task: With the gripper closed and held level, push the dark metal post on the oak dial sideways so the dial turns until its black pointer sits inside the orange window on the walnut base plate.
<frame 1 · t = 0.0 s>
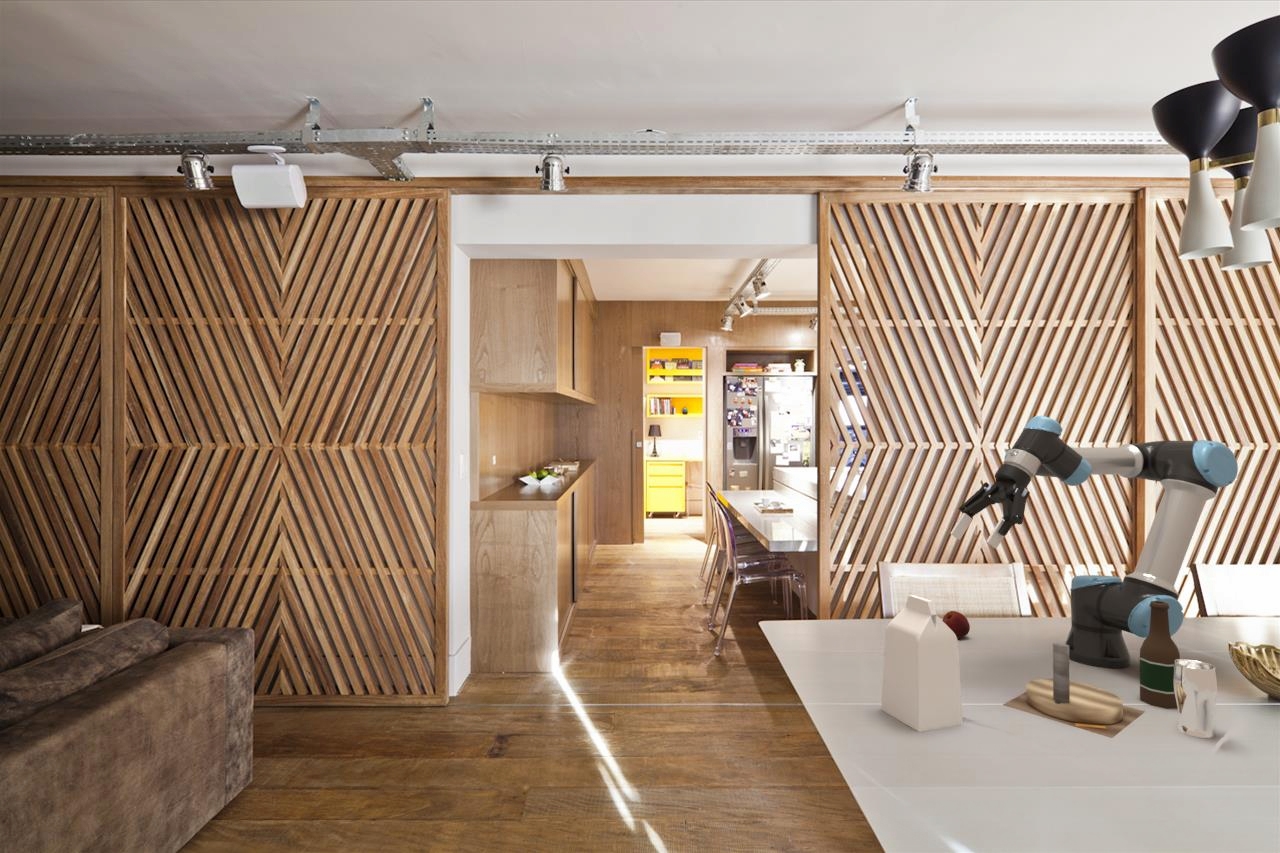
hand: (972, 541, 164), 36 cm above the table, tool tilted 35°, fingers open, 13 cm apart
dial base: (1073, 713, 148), on the table
beer glass: (1195, 738, 137), on the table
milk: (920, 717, 146), on the table
beer bottle: (1160, 708, 152), on the table
cam dial: (1072, 673, 148), point 9 cm above the table, hinge at 0.0°
apple: (955, 638, 205), on the table
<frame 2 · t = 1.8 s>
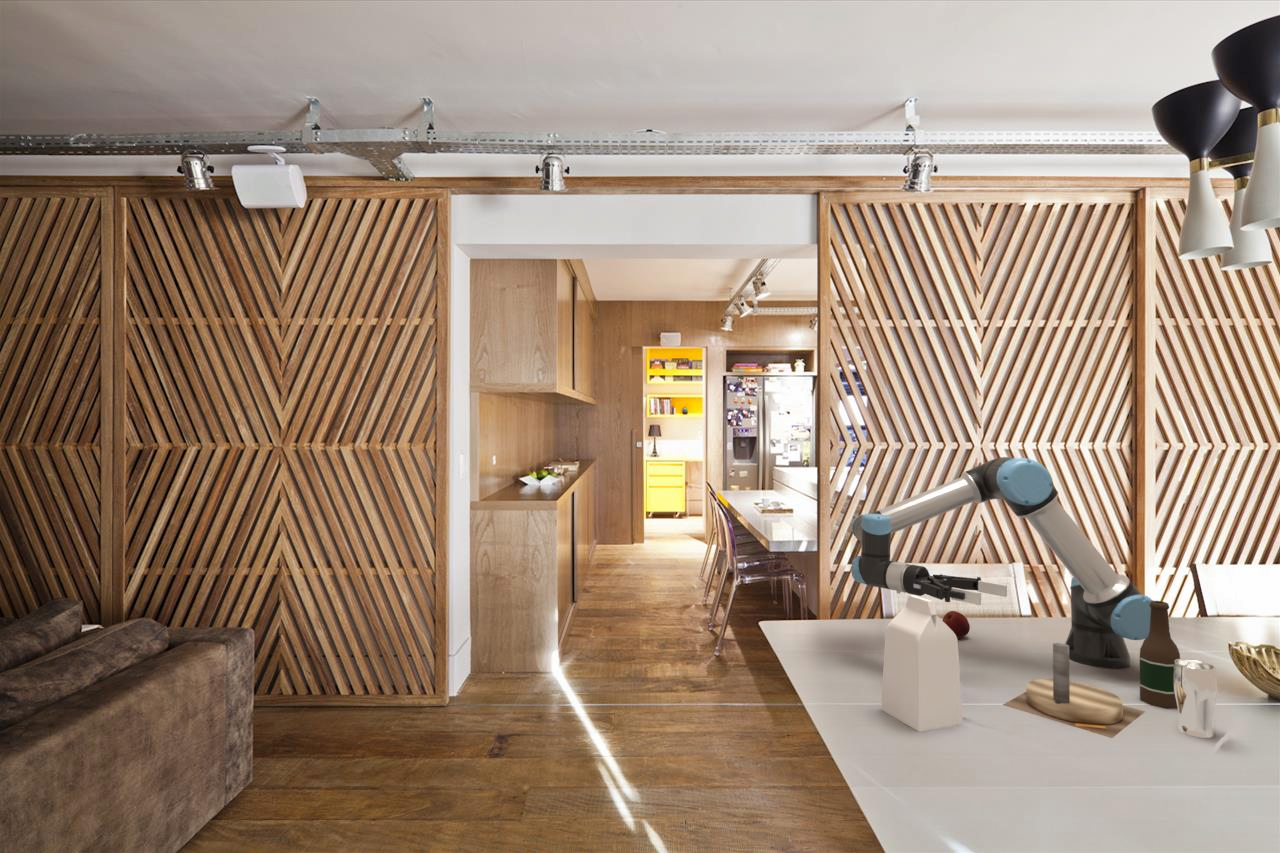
hand: (993, 595, 156), 24 cm above the table, tool horizontal, fingers open, 13 cm apart
nothing on the table moved.
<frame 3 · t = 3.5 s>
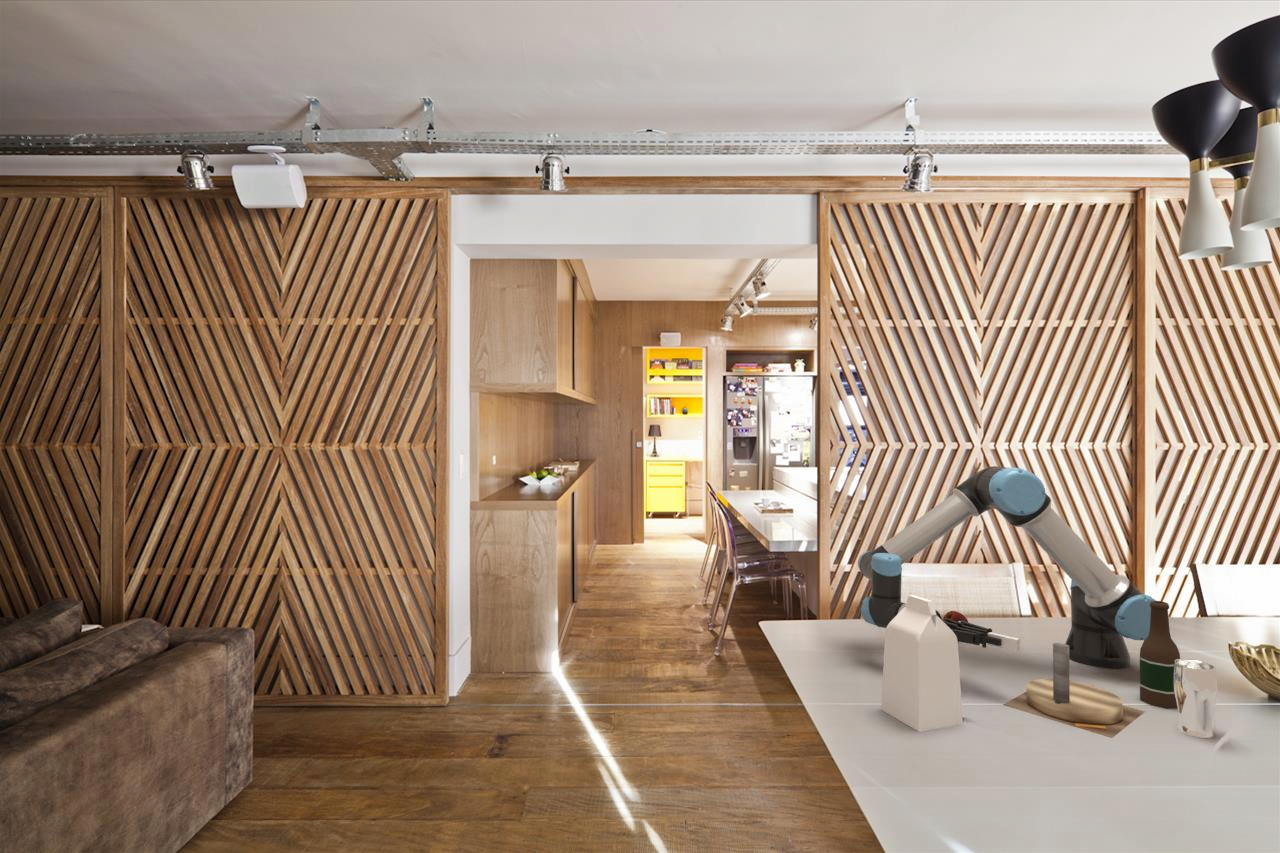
hand: (1018, 645, 151), 14 cm above the table, tool horizontal, fingers closed
nothing on the table moved.
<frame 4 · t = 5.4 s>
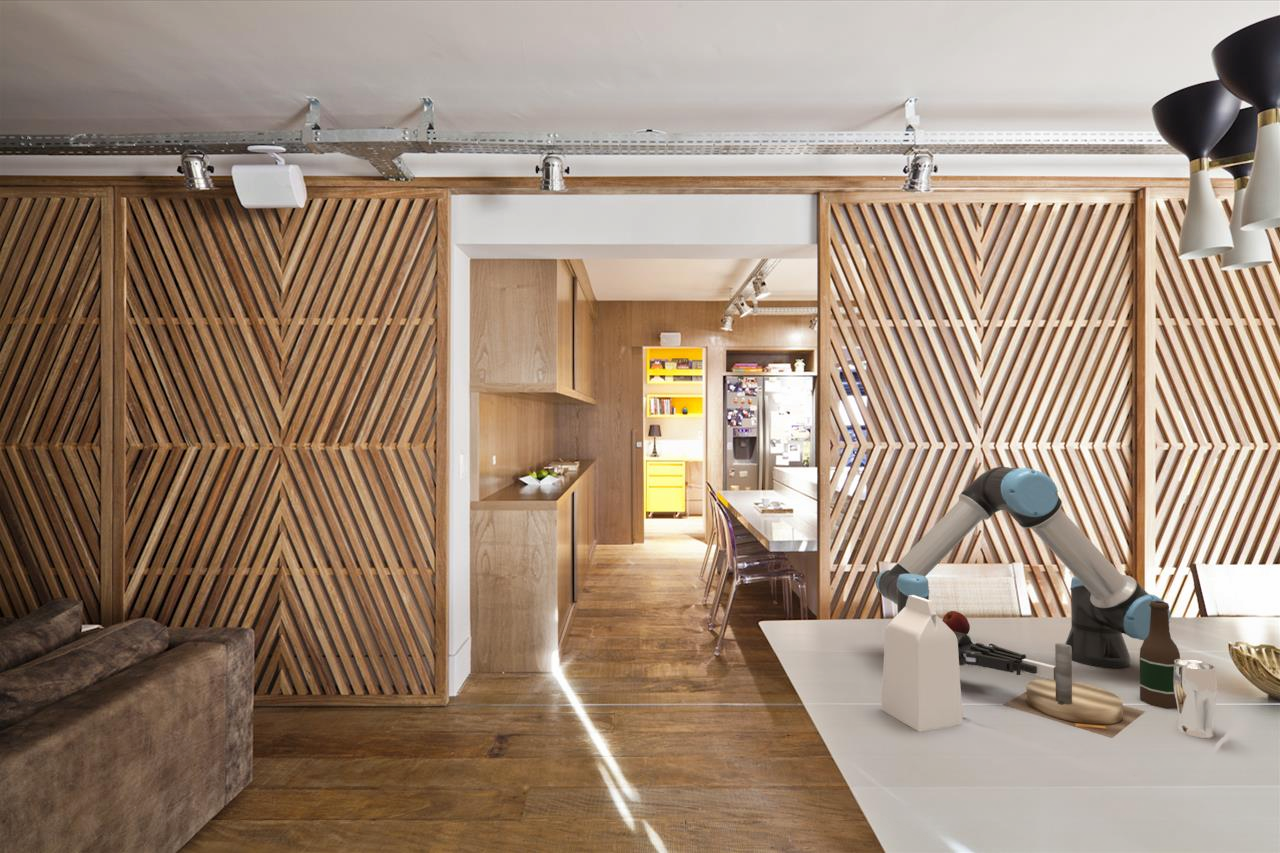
hand: (1054, 673, 145), 10 cm above the table, tool horizontal, fingers closed
cam dial: (1072, 673, 148), point 9 cm above the table, hinge at 4.1°, touching gripper
everything else where it was.
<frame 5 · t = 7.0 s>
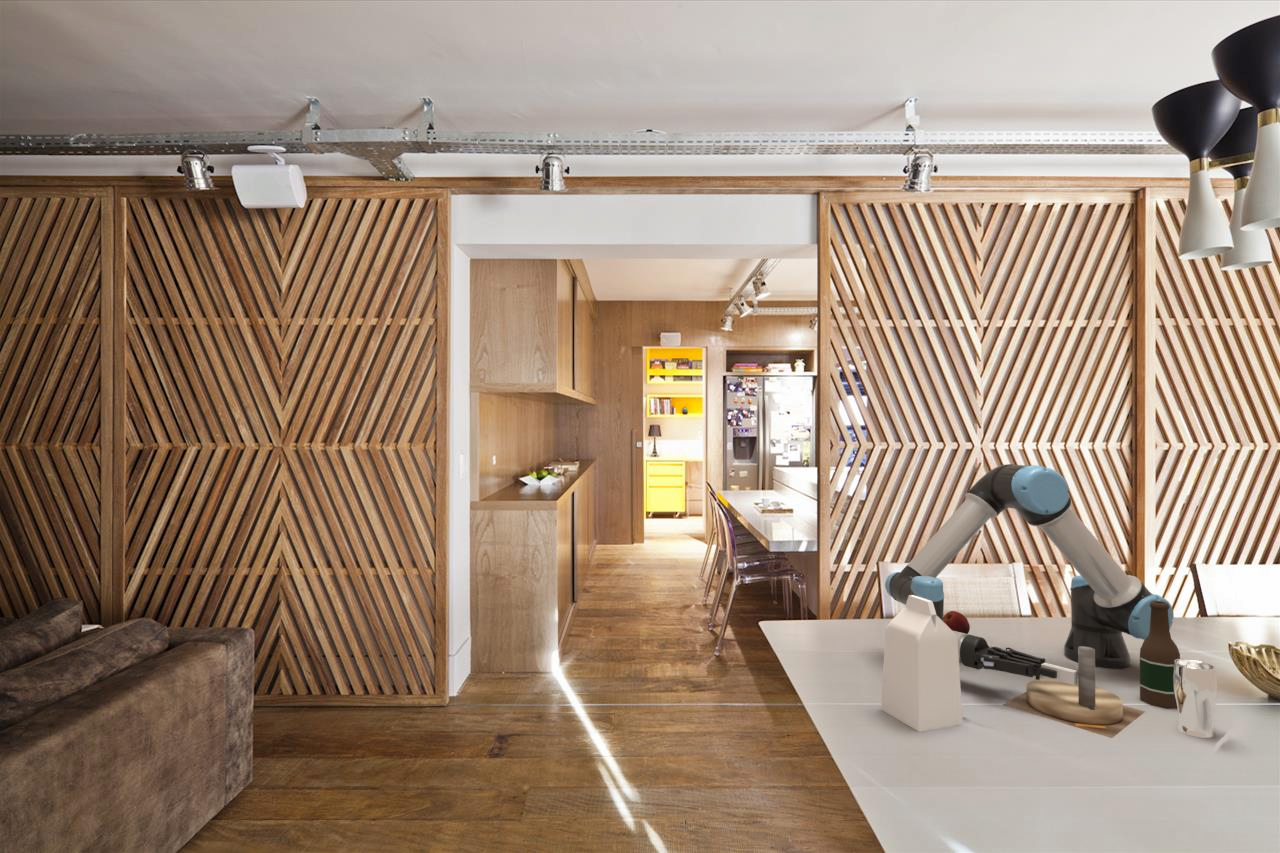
hand: (1075, 677, 143), 10 cm above the table, tool horizontal, fingers closed
cam dial: (1072, 673, 148), point 9 cm above the table, hinge at 41.5°, touching gripper
everything else where it was.
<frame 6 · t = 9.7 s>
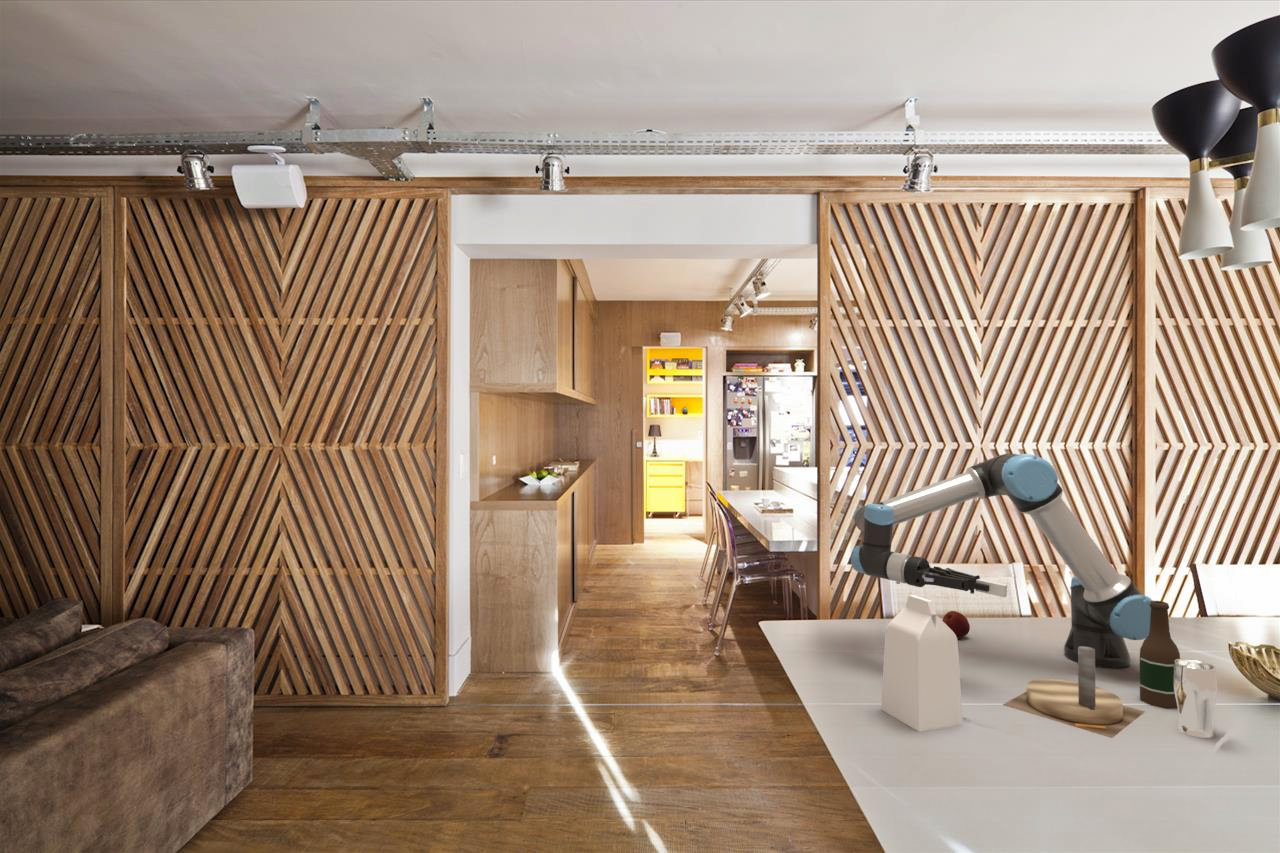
hand: (1005, 591, 156), 26 cm above the table, tool horizontal, fingers closed
cam dial: (1072, 673, 148), point 9 cm above the table, hinge at 41.6°
everything else where it was.
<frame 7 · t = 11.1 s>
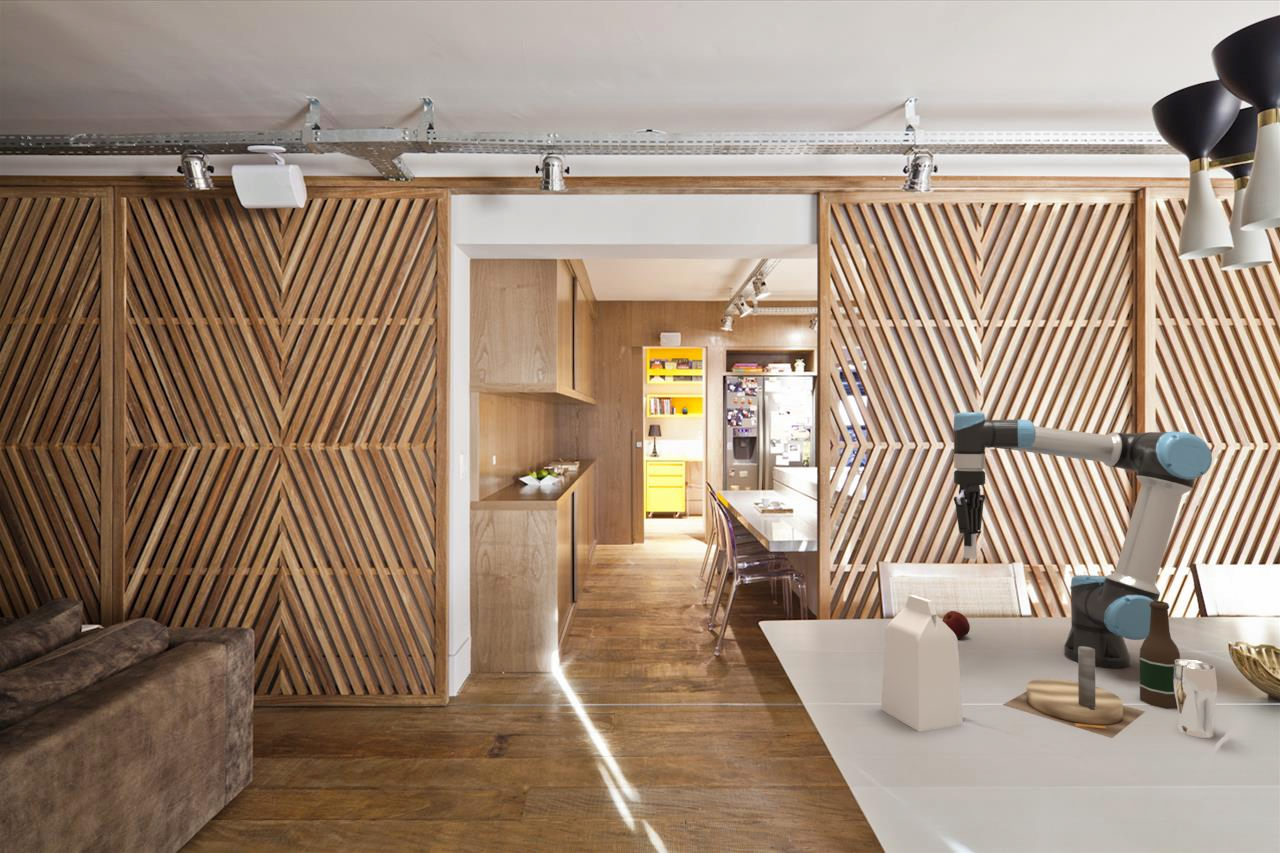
hand: (970, 558, 178), 29 cm above the table, tool pointing down, fingers closed
nothing on the table moved.
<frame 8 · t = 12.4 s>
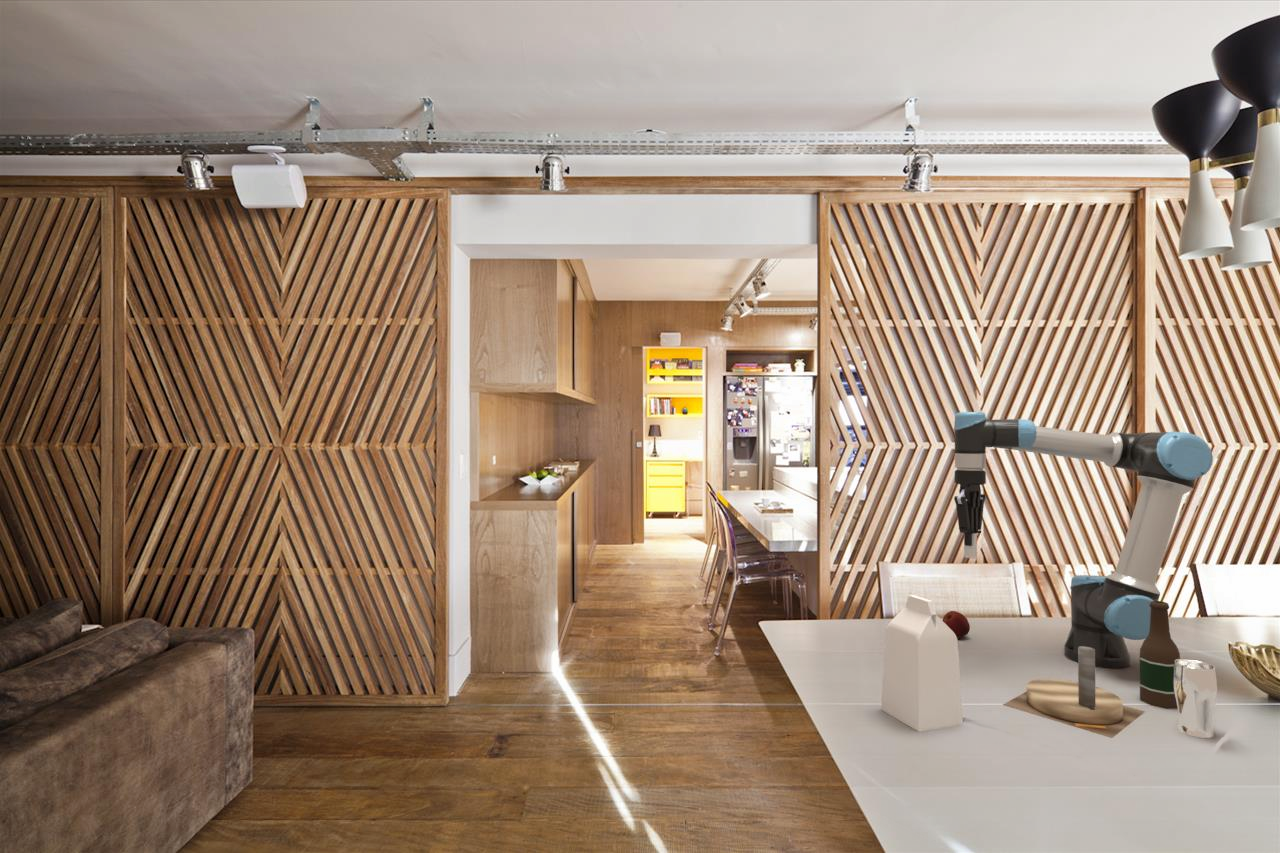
hand: (970, 557, 178), 29 cm above the table, tool pointing down, fingers closed
nothing on the table moved.
at the end: cam dial at +42° (first picture: +0°); beer glass moved 0.2 cm from its start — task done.
